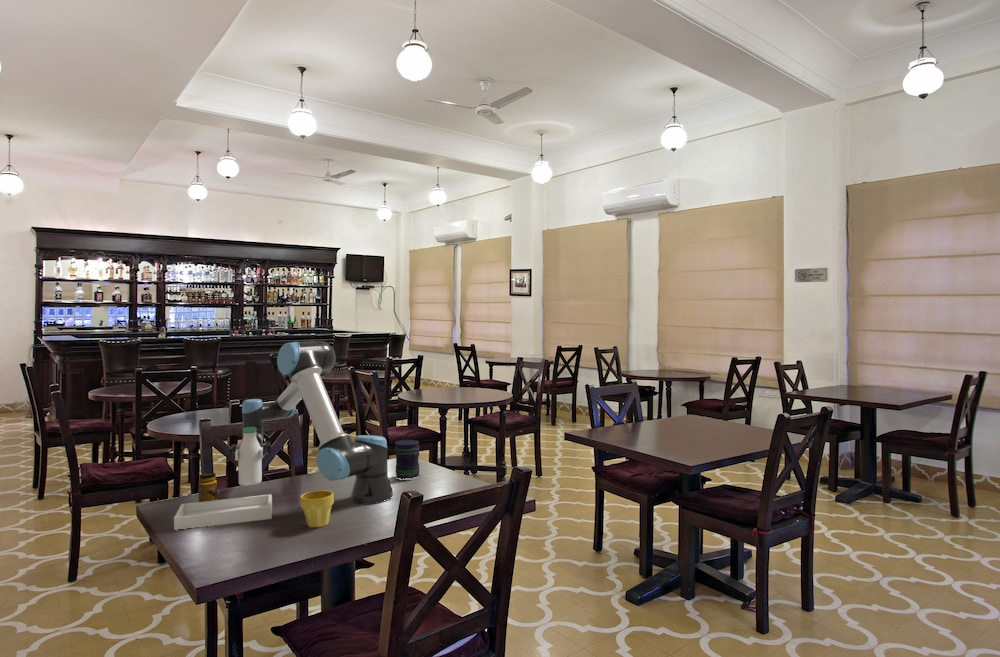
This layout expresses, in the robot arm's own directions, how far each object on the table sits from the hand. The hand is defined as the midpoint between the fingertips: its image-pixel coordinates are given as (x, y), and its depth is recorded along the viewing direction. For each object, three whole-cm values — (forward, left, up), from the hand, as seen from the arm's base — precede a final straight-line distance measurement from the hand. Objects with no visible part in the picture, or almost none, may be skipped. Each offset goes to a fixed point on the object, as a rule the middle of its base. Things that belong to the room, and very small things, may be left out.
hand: (248, 455), depth 213 cm
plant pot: (-33, -9, -19) cm, 39 cm away
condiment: (+14, +10, -19) cm, 26 cm away
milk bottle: (+5, -2, -11) cm, 12 cm away
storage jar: (-7, -63, -19) cm, 66 cm away
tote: (-3, +9, -19) cm, 21 cm away
